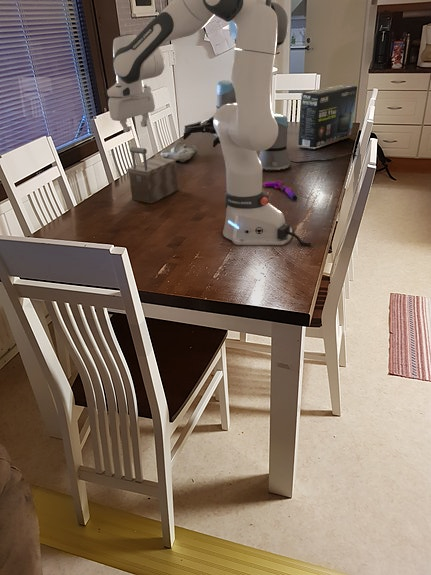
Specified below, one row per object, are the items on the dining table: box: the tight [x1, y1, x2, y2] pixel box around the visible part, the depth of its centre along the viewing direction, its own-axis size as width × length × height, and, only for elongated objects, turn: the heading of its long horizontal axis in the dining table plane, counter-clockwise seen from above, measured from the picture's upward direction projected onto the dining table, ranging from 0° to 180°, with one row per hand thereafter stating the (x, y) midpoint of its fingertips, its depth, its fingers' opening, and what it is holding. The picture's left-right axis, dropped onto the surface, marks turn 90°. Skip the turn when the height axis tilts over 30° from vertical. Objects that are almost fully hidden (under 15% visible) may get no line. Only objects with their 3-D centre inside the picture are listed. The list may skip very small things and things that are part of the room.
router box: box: [297, 84, 358, 151], centre depth 238 cm, size 36×11×27 cm, turn 134°
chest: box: [128, 162, 179, 204], centre depth 182 cm, size 17×10×11 cm, turn 147°
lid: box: [126, 146, 177, 175], centre depth 176 cm, size 18×10×9 cm, turn 147°
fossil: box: [160, 142, 199, 163], centre depth 229 cm, size 18×11×15 cm
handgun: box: [262, 180, 298, 201], centre depth 180 cm, size 21×8×2 cm, turn 11°
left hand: (135, 129), depth 166 cm, fingers open, 8 cm apart
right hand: (199, 140), depth 193 cm, fingers open, 13 cm apart
